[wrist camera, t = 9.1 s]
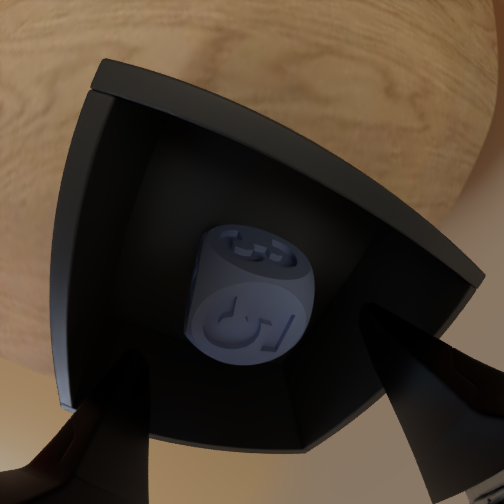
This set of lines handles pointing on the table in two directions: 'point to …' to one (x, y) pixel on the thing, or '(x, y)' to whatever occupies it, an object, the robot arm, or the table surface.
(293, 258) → the decorative dice
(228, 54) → the table surface
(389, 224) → the waste bin
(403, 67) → the table surface
